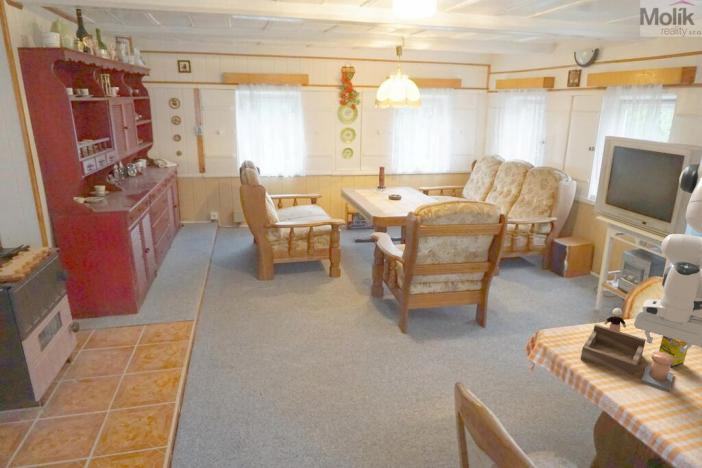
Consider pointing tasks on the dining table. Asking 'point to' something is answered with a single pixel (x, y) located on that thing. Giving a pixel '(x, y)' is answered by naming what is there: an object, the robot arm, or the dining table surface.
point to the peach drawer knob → (660, 365)
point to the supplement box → (673, 349)
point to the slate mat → (659, 384)
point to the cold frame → (614, 341)
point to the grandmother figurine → (616, 320)
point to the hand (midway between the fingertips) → (665, 347)
